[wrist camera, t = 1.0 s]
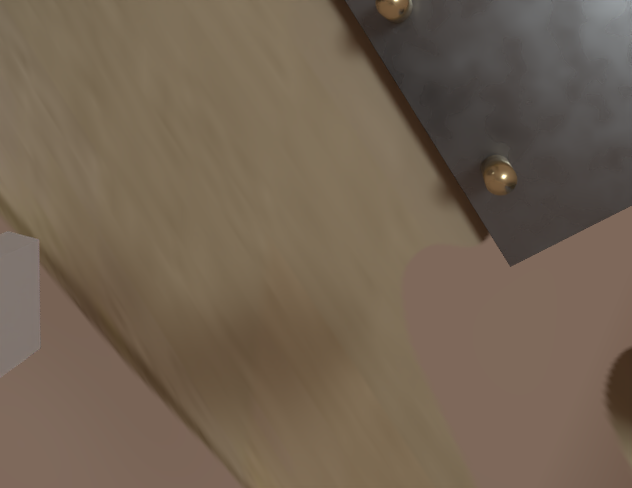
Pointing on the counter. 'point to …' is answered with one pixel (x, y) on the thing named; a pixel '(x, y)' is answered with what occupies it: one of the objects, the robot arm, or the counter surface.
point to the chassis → (519, 105)
